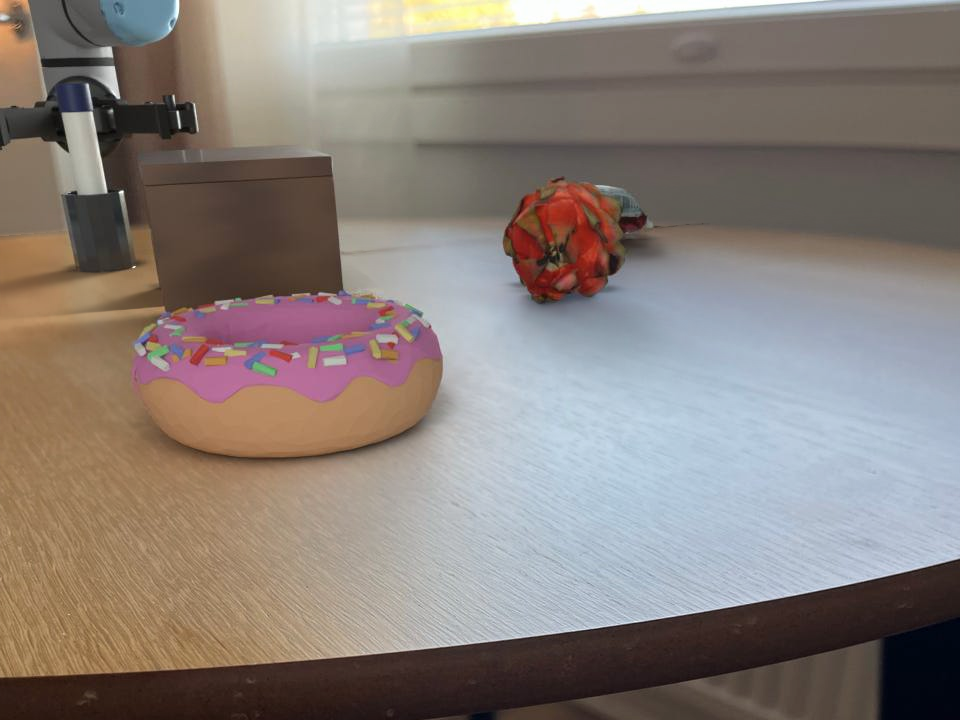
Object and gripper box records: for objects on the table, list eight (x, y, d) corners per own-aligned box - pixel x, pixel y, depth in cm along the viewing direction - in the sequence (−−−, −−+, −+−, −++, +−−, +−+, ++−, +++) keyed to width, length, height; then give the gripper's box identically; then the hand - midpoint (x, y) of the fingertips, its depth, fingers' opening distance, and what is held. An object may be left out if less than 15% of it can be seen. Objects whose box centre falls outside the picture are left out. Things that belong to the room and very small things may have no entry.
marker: (90, 270, 88) (53, 84, 81) (91, 265, 90) (55, 84, 83) (122, 267, 88) (88, 83, 81) (122, 263, 90) (88, 83, 84)
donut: (429, 374, 57) (425, 279, 54) (462, 458, 44) (458, 340, 42) (164, 390, 55) (147, 293, 53) (120, 482, 43) (95, 361, 40)
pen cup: (76, 279, 86) (59, 196, 83) (78, 270, 91) (62, 190, 87) (138, 275, 88) (123, 192, 85) (137, 266, 92) (123, 187, 89)
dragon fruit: (587, 300, 81) (561, 359, 72) (499, 234, 79) (462, 286, 70) (654, 209, 76) (636, 261, 67) (562, 136, 74) (530, 179, 65)
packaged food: (524, 235, 102) (524, 181, 100) (643, 232, 102) (646, 178, 99) (524, 250, 95) (524, 192, 92) (653, 247, 94) (656, 189, 92)
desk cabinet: (168, 329, 68) (140, 165, 64) (160, 292, 80) (136, 152, 75) (345, 313, 71) (331, 155, 67) (312, 280, 83) (299, 144, 78)
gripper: (215, 152, 110) (236, 166, 92) (-36, 164, 103) (-66, 181, 86) (204, 72, 106) (224, 70, 88) (-57, 79, 100) (-93, 79, 82)
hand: (81, 125), depth 87 cm, fingers open, 13 cm apart
